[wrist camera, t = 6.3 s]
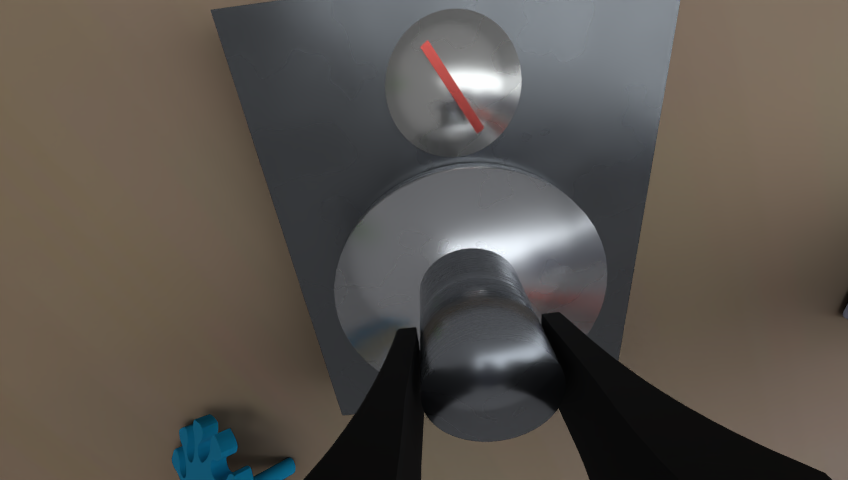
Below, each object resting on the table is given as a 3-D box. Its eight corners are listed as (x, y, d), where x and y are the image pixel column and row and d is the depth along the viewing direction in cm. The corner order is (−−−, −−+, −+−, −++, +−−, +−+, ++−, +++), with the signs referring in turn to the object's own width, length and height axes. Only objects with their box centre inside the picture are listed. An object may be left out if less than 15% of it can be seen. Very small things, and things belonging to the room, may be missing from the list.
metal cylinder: (527, 250, 13) (582, 342, 9) (509, 332, 15) (548, 443, 11) (422, 244, 13) (426, 335, 9) (416, 328, 15) (416, 439, 11)
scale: (641, -36, 12) (710, -67, 9) (592, 354, 20) (621, 402, 17) (245, 19, 13) (195, 5, 10) (349, 378, 21) (339, 429, 18)
